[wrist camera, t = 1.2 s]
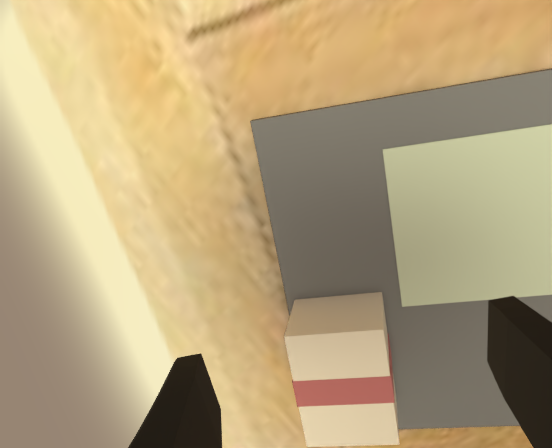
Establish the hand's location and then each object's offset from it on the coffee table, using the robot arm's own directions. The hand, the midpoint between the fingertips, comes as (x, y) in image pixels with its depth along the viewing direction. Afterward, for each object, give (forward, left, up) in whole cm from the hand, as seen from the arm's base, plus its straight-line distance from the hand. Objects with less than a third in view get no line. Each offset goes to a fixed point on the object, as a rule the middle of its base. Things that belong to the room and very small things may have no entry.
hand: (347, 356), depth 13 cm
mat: (-6, -3, -16) cm, 17 cm away
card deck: (-10, +2, -15) cm, 18 cm away
